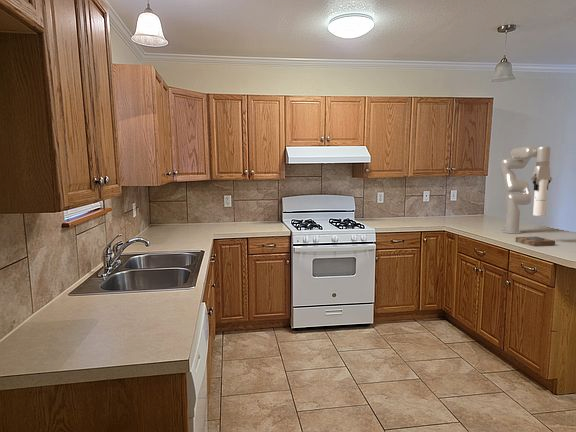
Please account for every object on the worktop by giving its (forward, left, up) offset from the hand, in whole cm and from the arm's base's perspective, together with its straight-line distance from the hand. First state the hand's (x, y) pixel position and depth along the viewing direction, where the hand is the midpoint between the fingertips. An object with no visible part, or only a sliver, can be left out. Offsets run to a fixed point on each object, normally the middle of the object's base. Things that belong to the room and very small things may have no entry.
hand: (540, 189), depth 258 cm
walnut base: (+7, -8, -36) cm, 38 cm away
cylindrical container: (0, 0, -18) cm, 18 cm away
